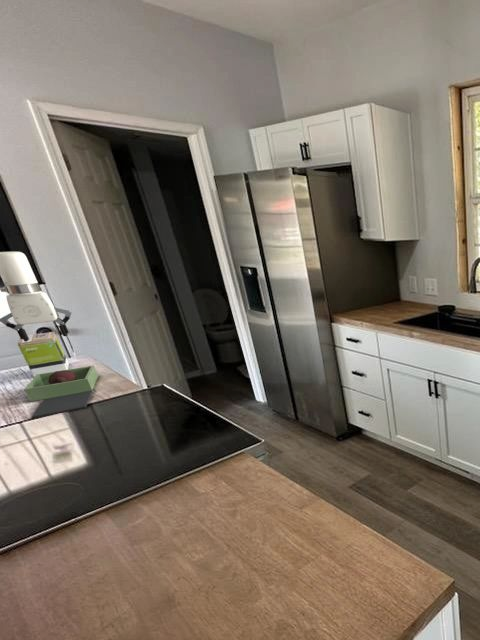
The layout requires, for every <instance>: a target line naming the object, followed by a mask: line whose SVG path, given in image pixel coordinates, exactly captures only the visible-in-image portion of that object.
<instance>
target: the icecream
mask: <svg viewBox="0 0 480 640" xmlns="http://www.w3.org/2000/svg"><path fill="white" fill-rule="evenodd" d="M75 380H77V376H76V375H75V373H74V372H70V371H66V370H62V371H56V372H54V373H53V374H52V375H50V377H49V381H48V382H49V383H50V384H57V383H63V382H69V381H75Z"/></svg>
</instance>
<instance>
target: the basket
mask: <svg viewBox="0 0 480 640" xmlns="http://www.w3.org/2000/svg"><path fill="white" fill-rule="evenodd" d="M66 371H70V372H74V373H75V375H76V376H77V380H75V381H69V382H63V383H57V384H50V383H49V382H48V381H49V377H50V375H52V374H53V373H54V372H50V373H43V374H37V375H36V376H35V377H34V376H33V378H32V379H31V381H30V382H29V383H28V385H26V387H25V388H23V389H24V392H25V394H26V396H27V398H28V400H29V401H28V402H35V401H43V400H44V399H47V398H53V397H58V396H64V395H69V394H75V393H80V392H86V391H93V389H94V387H95V384H96V382H97V380H98V378H99V375H98V372H97V370H96V368H95V365H89V366H83V367H75V368H68V370H66Z"/></svg>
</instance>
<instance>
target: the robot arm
mask: <svg viewBox="0 0 480 640" xmlns="http://www.w3.org/2000/svg"><path fill="white" fill-rule="evenodd" d="M0 278H1V279H2V282H3V284H4V286H3V287H0V292H1V293H7V294H8V295H6V296H5V297H6V301H7V305H8V308H9V311H10V313H7V314H6V315H4V316H3V317H1V318H0V323H2V324H3V325H5V327H7V328H10V329H12V330H14V331H16V332H17V335H19V339H20V338H21V339H23V340H24V341H25V342H26V341H28V340H29V338H28V336H27V335H28V334H27V332H26V329H24V328H23V327H24V325H33V324H41V323H42V324H43V323H49V322H55V323H57V324H59V325H58V327H59V330H60V332H61V334H62V336H63V337H67V336H68V334H69V333H70V332H69V329H68V327H67V325H66V324H67V323H68V321H69V320H70V318H71V315H72V311H71V310H67V309H63V308H59V307H55V306H54V304H53V302H52V300H51V299H50V297H49V295H47V293H46V292H45V291H42V289H41V287H40V285H39V282H38V280H37V277H36V275H35V273H34V271H33V268H32V267H31V264H30V261H29V259H28V258H27V256H26V254H25V253H23V252H22V251H0ZM58 313H59V314H64V317H63V318H61V317H59V314H58ZM11 318H12V319H13V321H14V322H15V324H14V323H12V322H10V321H9V319H11Z"/></svg>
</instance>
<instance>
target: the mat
mask: <svg viewBox="0 0 480 640" xmlns="http://www.w3.org/2000/svg"><path fill="white" fill-rule="evenodd" d="M92 394H93V390H91V391H86V392H80V393H75V394H69V395H64V396H58V397H53V398H47V399H42V400H41V402H40V405H39V406H38V407H37V408H36V410H35V412H34V413H33V414H32V416H31V418H32V419H37V418H42V417H47V416H52V415H57V414H62V413H68V412H71V411H76V410H82V409H86V408H87V406H88V403H89V400H90V399H91V396H92Z"/></svg>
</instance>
